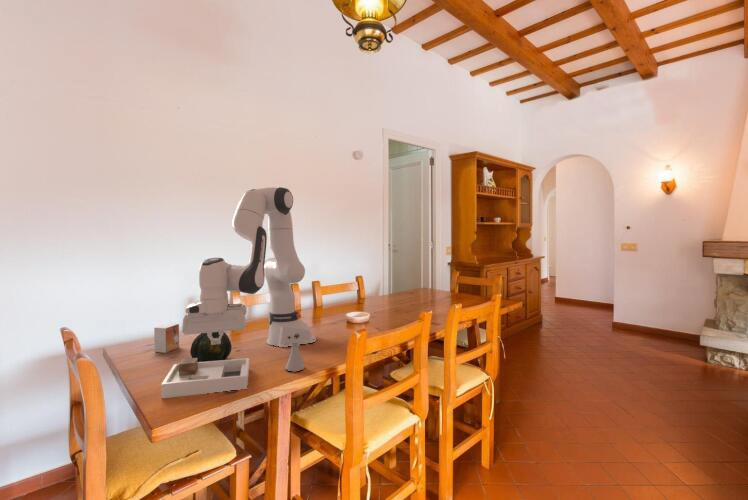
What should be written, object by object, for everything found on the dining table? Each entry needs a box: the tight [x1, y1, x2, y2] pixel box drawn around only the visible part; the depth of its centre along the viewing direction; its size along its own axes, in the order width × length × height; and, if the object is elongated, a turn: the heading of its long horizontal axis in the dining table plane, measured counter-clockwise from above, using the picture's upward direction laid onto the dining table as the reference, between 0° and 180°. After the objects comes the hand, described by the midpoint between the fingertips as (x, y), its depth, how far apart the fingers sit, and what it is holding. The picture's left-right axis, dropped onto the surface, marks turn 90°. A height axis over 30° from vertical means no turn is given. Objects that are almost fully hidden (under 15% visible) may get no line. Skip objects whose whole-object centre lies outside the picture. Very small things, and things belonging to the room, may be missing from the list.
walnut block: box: [178, 357, 198, 376], centre depth 124 cm, size 5×5×4 cm
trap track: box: [160, 357, 250, 399], centre depth 123 cm, size 25×17×4 cm
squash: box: [189, 331, 232, 362], centre depth 142 cm, size 14×15×15 cm
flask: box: [284, 342, 306, 372], centre depth 136 cm, size 7×7×10 cm
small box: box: [153, 322, 180, 354], centre depth 155 cm, size 8×6×10 cm
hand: (215, 344), depth 127 cm, fingers closed
